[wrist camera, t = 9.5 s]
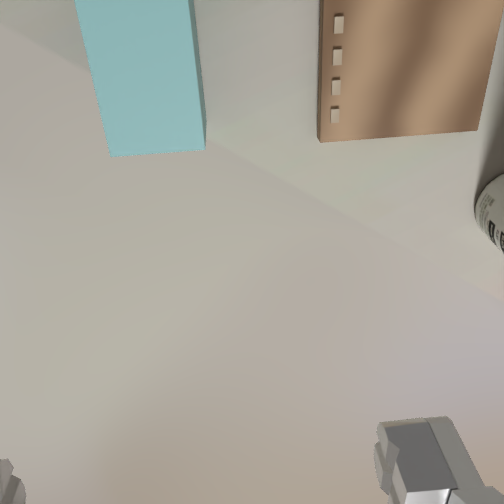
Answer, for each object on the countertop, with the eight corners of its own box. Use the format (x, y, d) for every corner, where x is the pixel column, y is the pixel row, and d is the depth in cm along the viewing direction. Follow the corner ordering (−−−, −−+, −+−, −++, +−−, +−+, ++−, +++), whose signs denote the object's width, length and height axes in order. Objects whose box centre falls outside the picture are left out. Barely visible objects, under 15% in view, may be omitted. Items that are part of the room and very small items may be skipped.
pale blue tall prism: (125, 126, 35) (110, 157, 30) (84, -70, 28) (57, -73, 23) (206, 120, 35) (205, 149, 30) (184, -77, 28) (178, -81, 23)
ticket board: (317, 137, 36) (320, 143, 35) (323, -127, 28) (327, -131, 26) (470, 125, 37) (478, 131, 36) (523, -140, 28) (537, -143, 27)
